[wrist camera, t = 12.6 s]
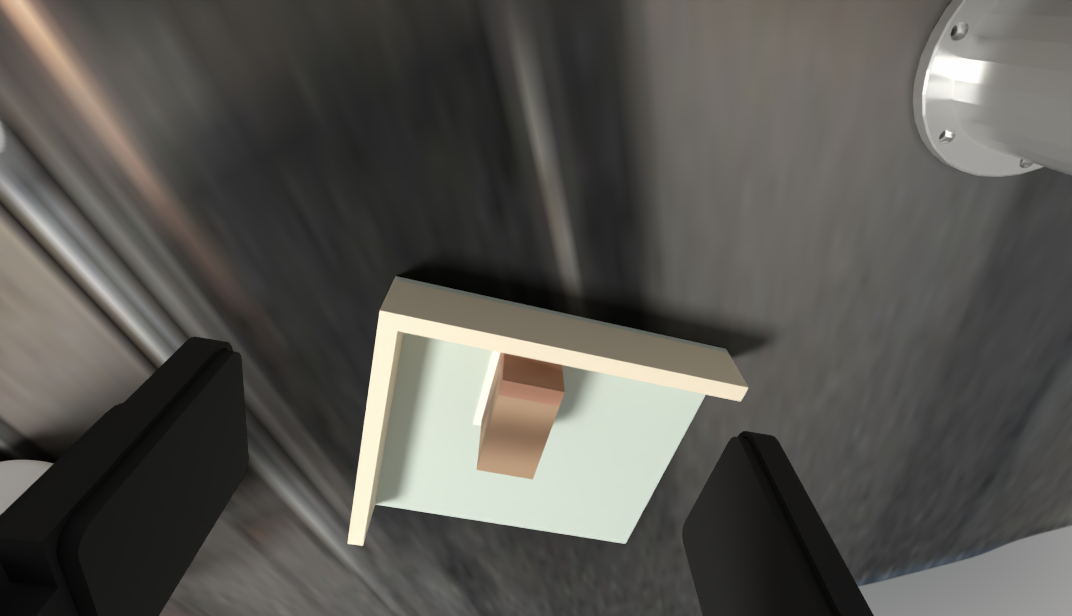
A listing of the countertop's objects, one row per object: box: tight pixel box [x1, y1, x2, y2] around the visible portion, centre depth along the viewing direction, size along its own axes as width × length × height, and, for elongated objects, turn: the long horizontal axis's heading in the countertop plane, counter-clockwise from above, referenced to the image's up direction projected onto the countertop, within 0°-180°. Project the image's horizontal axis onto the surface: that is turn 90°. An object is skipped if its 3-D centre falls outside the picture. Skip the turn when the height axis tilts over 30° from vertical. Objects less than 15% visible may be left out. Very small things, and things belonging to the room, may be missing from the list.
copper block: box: [477, 352, 565, 479], centre depth 37 cm, size 8×4×5 cm, turn 165°
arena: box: [348, 276, 749, 546], centre depth 40 cm, size 24×22×4 cm
